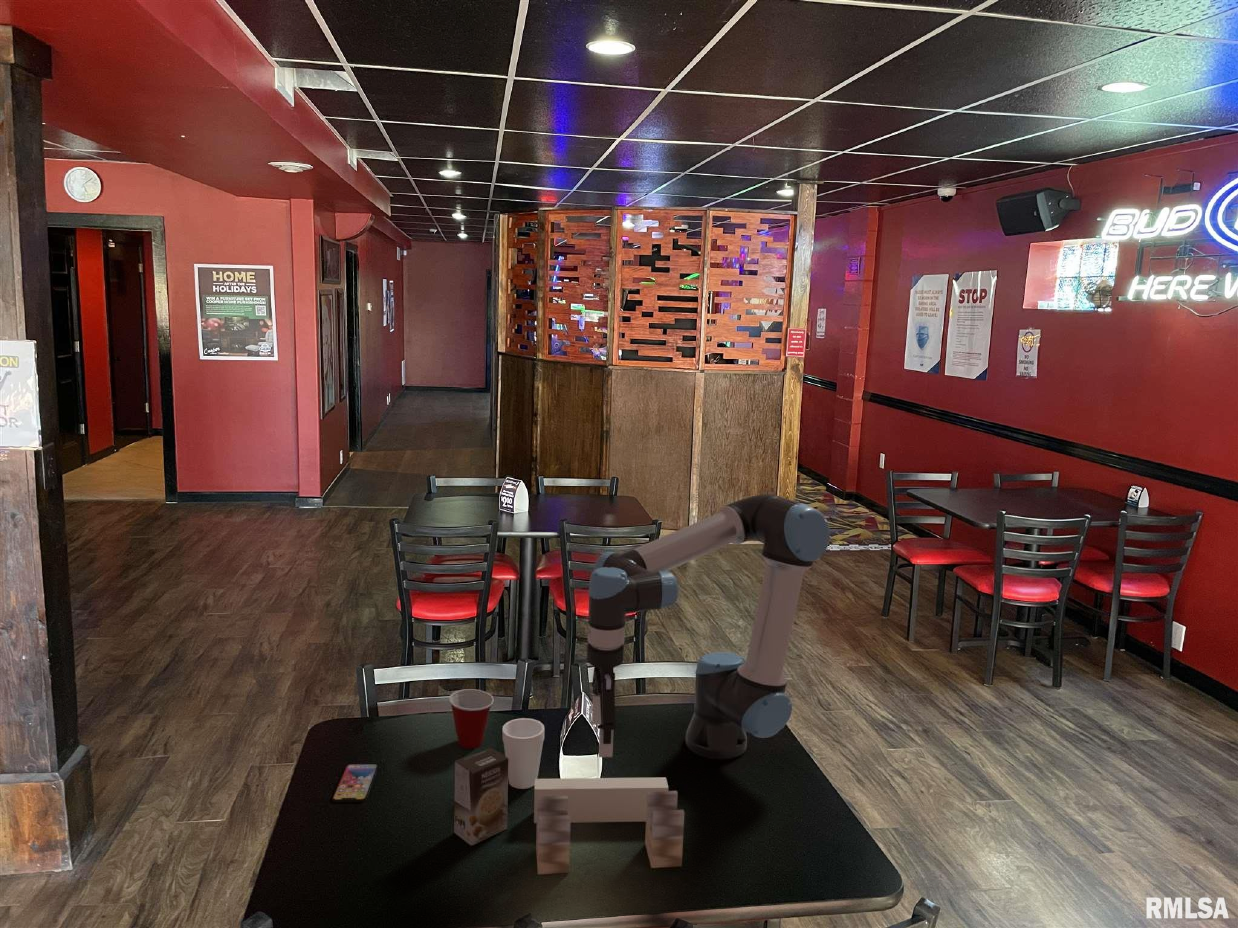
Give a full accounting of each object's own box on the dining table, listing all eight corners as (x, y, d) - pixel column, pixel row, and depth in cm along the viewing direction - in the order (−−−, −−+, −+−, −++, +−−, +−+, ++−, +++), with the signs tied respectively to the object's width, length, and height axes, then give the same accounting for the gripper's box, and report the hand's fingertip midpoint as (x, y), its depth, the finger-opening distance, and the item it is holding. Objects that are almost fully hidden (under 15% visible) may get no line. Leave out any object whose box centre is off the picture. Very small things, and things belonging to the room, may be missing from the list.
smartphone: (379, 763, 206) (365, 799, 191) (379, 767, 206) (365, 803, 192) (346, 763, 206) (330, 799, 191) (346, 767, 206) (330, 803, 191)
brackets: (674, 842, 181) (676, 790, 179) (681, 865, 174) (684, 812, 171) (536, 849, 177) (537, 796, 175) (537, 874, 170) (538, 819, 168)
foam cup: (547, 771, 206) (548, 719, 203) (539, 794, 197) (540, 740, 194) (506, 768, 207) (507, 716, 204) (497, 790, 198) (497, 736, 195)
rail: (664, 810, 192) (665, 777, 191) (666, 821, 188) (668, 787, 187) (534, 812, 190) (534, 778, 189) (534, 823, 186) (534, 789, 185)
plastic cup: (493, 753, 213) (494, 707, 210) (447, 755, 211) (447, 708, 209) (494, 731, 223) (494, 686, 221) (450, 732, 222) (450, 687, 220)
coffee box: (471, 847, 177) (471, 773, 174) (453, 832, 182) (453, 760, 179) (508, 828, 184) (509, 757, 181) (490, 815, 188) (490, 745, 185)
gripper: (581, 621, 193) (578, 711, 197) (593, 669, 169) (589, 771, 173) (616, 620, 194) (612, 710, 198) (632, 668, 170) (628, 770, 174)
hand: (601, 739), depth 186 cm, fingers open, 13 cm apart
